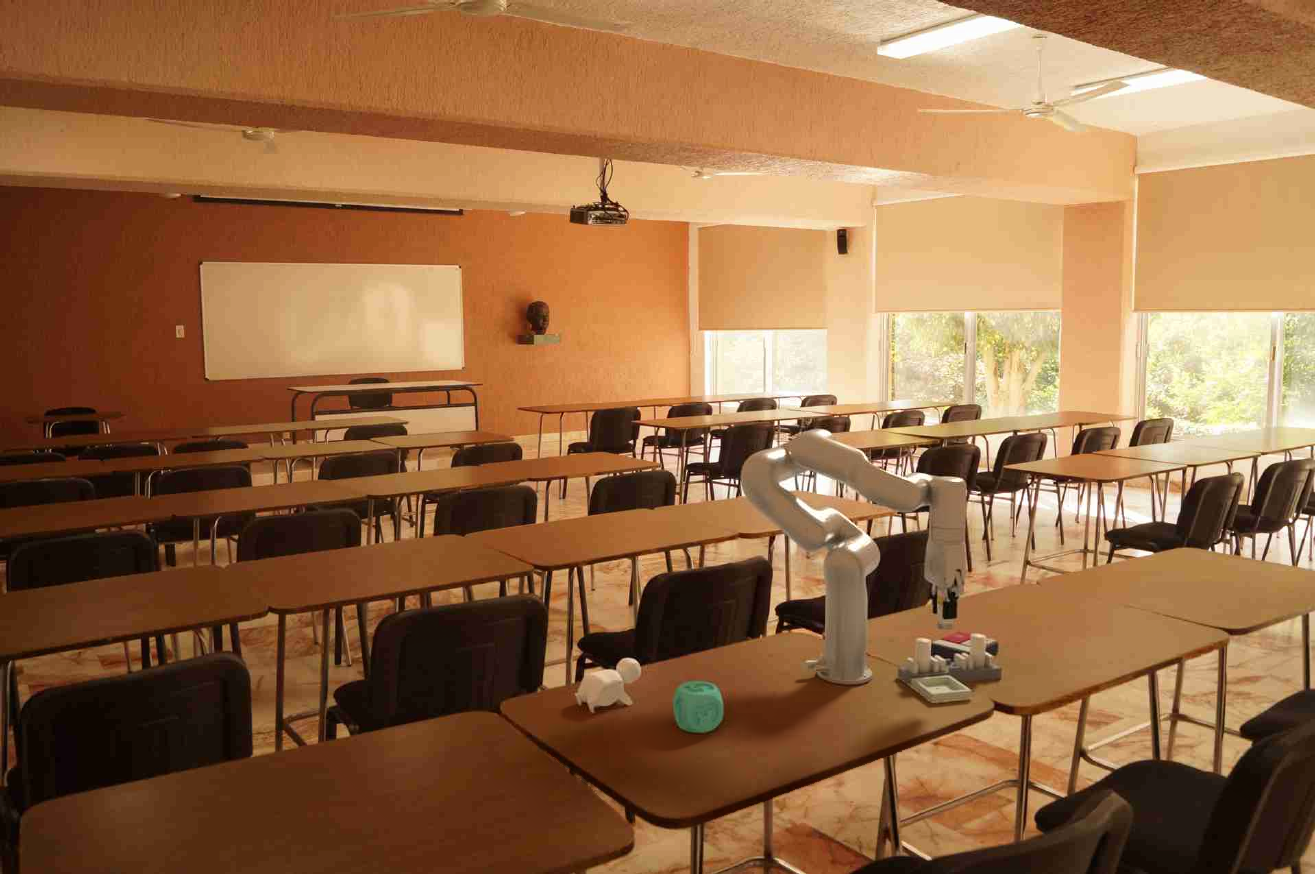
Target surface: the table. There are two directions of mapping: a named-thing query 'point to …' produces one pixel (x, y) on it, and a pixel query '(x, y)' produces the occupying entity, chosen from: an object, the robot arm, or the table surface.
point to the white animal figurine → (608, 685)
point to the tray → (940, 688)
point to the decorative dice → (697, 706)
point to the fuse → (942, 622)
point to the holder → (951, 663)
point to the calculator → (958, 646)
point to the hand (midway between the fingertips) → (944, 615)
